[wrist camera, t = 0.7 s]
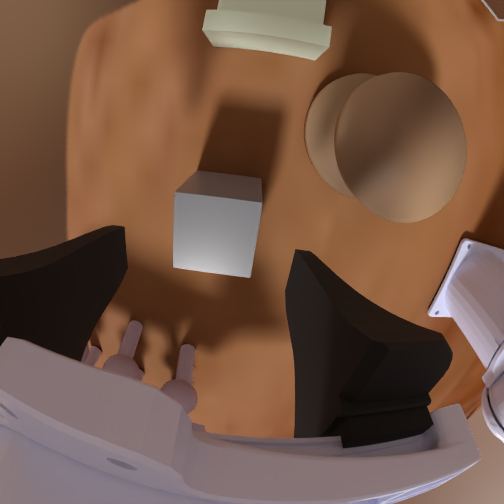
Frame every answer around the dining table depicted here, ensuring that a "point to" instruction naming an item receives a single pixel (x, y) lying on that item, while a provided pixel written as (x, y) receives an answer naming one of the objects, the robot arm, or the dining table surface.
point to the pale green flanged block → (270, 26)
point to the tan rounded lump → (387, 143)
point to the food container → (495, 8)
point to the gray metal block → (217, 223)
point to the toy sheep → (127, 366)
